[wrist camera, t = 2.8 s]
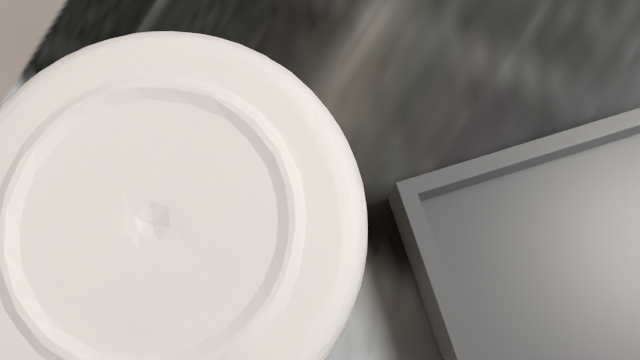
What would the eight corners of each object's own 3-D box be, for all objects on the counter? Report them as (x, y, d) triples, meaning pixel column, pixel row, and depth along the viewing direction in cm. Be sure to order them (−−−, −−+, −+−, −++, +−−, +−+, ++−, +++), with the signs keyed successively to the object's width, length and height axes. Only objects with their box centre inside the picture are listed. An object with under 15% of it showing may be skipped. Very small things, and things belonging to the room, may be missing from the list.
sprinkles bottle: (227, 374, 18) (-26, 543, 5) (185, 240, 19) (-120, 96, 6) (362, 323, 19) (444, 362, 5) (314, 193, 20) (285, -40, 6)
